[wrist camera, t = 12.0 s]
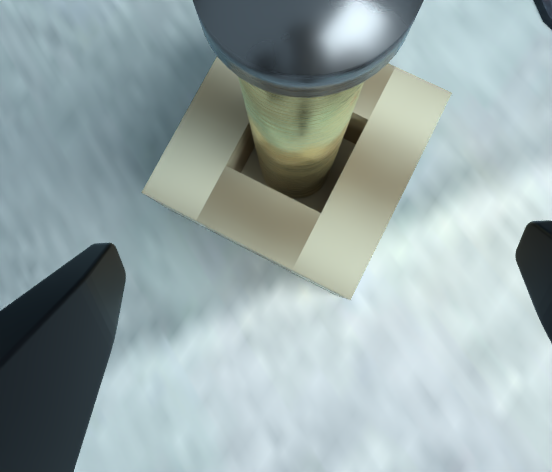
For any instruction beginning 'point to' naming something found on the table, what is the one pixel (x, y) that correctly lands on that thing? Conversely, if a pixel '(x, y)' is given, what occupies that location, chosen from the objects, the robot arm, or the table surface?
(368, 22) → the brass pin
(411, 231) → the table surface
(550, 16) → the dark gray book
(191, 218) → the socket block
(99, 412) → the table surface
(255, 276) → the table surface
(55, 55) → the table surface
